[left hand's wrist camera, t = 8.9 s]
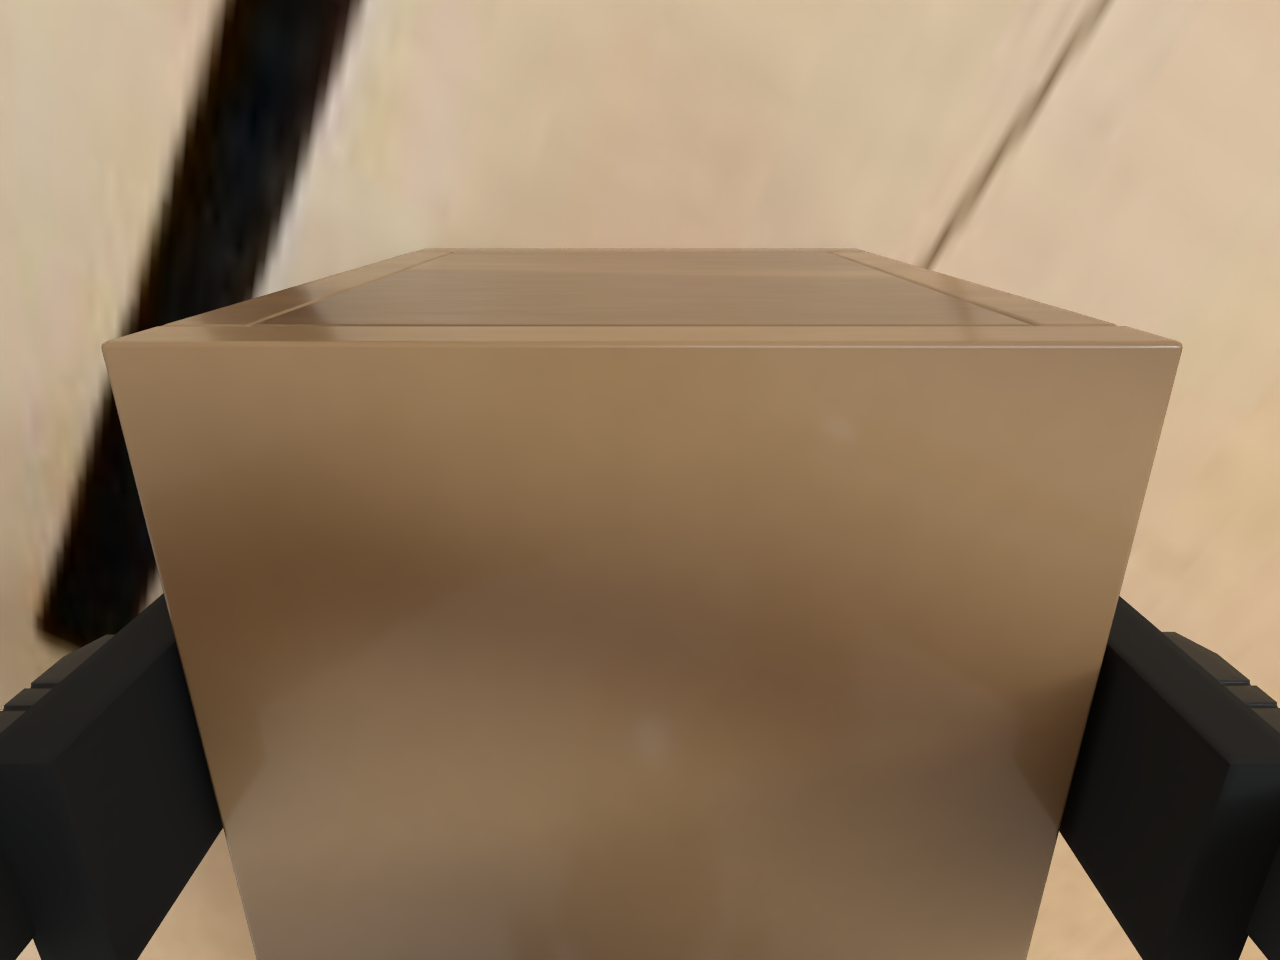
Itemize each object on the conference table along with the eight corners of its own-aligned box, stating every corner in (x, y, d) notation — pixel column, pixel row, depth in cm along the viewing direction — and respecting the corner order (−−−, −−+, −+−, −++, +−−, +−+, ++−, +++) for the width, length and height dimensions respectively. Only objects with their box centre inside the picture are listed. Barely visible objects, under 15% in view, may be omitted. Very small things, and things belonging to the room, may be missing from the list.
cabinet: (795, 901, 25) (908, 1425, 14) (486, 901, 25) (374, 1425, 14) (859, 248, 17) (1186, 342, 7) (422, 248, 17) (97, 342, 7)
